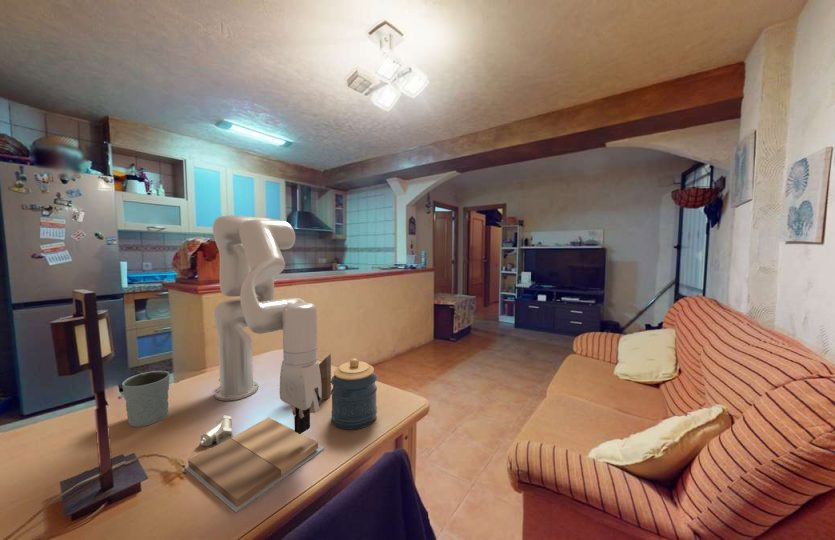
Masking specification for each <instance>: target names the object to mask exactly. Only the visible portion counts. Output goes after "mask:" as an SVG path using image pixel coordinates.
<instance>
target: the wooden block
mask: <svg viewBox="0 0 835 540" xmlns="http://www.w3.org/2000/svg"><path fill="white" fill-rule="evenodd" d="M331 356H332V354H331V353H329V354H328V355H327V356H326V357H325V358H324V359H323V360H322V361H321V362H319V368H320V375H321V385H322V398H321V400H324V399H327V400H328V399H329V398H330V397H331V396H332V394H331V391H332V383H331V379H332V375H331V374H332V357H331ZM329 396H330V397H329Z"/></svg>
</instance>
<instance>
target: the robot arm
mask: <svg viewBox="0 0 835 540" xmlns="http://www.w3.org/2000/svg"><path fill="white" fill-rule="evenodd" d="M213 221H214V222H213V224H212V235H213V238H214V241H215V245H216V248H217V249H218V253H219V289H220V293H221V294H222V295H223V296H226V297H229V298H230V297H239V298H237V299H236V298H235V299H228V300H223V301H220V302H219V303H218V304H217V305H216V306H215V307H214V309H213V318H214V322H215V327H216V332H217V339H218V361H219V379H218V382H219V388H218V389H217V390H215V393H214V397H215V399H217V400H219V401H225V402H226V401H236V400H241V399H244V398H247V397H249V396H252V395H253V394H255V393H256V392H257V391H258V389H259V383H257V381H254V374H253V373H254V372H253V371H254V369H253V367H254V365H253V346H252V345H253V344H252V343H253V341H252V338H251V336H250V334H248V332H247V331H245V330H244V328H247V327H248V329H249V330H250V331H251V332H253V334H259V335H262V334H267V333H272V332H277V331H281V330H282V352H283V353H282V354H283V355H282V356H283V357H282V358H283V360H282V361H281V367H280V375H279V399H280V400H281V402H284V404H287V405H290V406H291V410H292V411H291V412H292V415H293V416H294V417H293V421H294V422H293V423H294V424H293V425H294V430H295V432H296V433H297V432H298V434H303V433H304V432H306V431H308V430H309V429H310V428H311V414H316V413H317V412H319V411H320V405H319V403H321V402H322V399H321V398H322V385H321V375H320V368H319V364H320V362H318V356H319V354H318V313H317V312H318V310H317V307H316V305H315V304H314V303H311V302H306V301H305V300H304V299H302V298H300V297H289V298H279V299H275V298H274V296H275V277H277V276H278V275H280V274H281V273H282V272H283V271H284V270H285V268H286V261H285V258H284V256H283V254H282V251H281V250H290V249H291V248H293V247H294V245H295V243H296V232H295V230H294V228H293V226H292V225H291V223H289V222H287V221H285V220H281V219H275V218H272V217H271V218H270V217H262V216H261V217H258V216H250V215H249V216H248V215H247V216H246V215H232V214H231V215H222V216H218V217H216V219H215V220H213Z"/></svg>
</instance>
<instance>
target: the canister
mask: <svg viewBox="0 0 835 540" xmlns="http://www.w3.org/2000/svg"><path fill="white" fill-rule="evenodd" d="M333 374H334V375H333V376H331V386H332V388H331V415H330V416H331V419H332V423H333V424H334V425H335V426H336V428H337V427H338V428H340V429H344V430H357V429H358V430H359V429H362V428H366V427H367V426H369V425H371V424H372V423H373V422H375V420H376V417H377V412H378V407H377V390H378V387H377V385H376V381H377V379H378V376H377V374H376V373H375V368H374V366H372V365H371V364H369V363H367V362H365V361H359V359H358V358H354V357H353V358H350V361H348V362H344V363H342V364H340V365H339V366H338V367H336V368H335V370H334V371H333Z"/></svg>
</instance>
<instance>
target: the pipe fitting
mask: <svg viewBox="0 0 835 540" xmlns="http://www.w3.org/2000/svg"><path fill="white" fill-rule="evenodd" d="M232 427H233V418H232V416H231V415H222V416H221V417H219V418H218V419H217V421H216V424H215V425H214V426H213V427H211V428H209V429H207V431H205V432H203V433H202V434H201V436H200V442H199V444H200V445H201V446H207V447H209V446H211V445H213V444H214V443H215V442H216V445H218V444H220V443H222V442H224V441H226V440H228V439H230V438H232V437H234V434H233V428H232Z"/></svg>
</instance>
